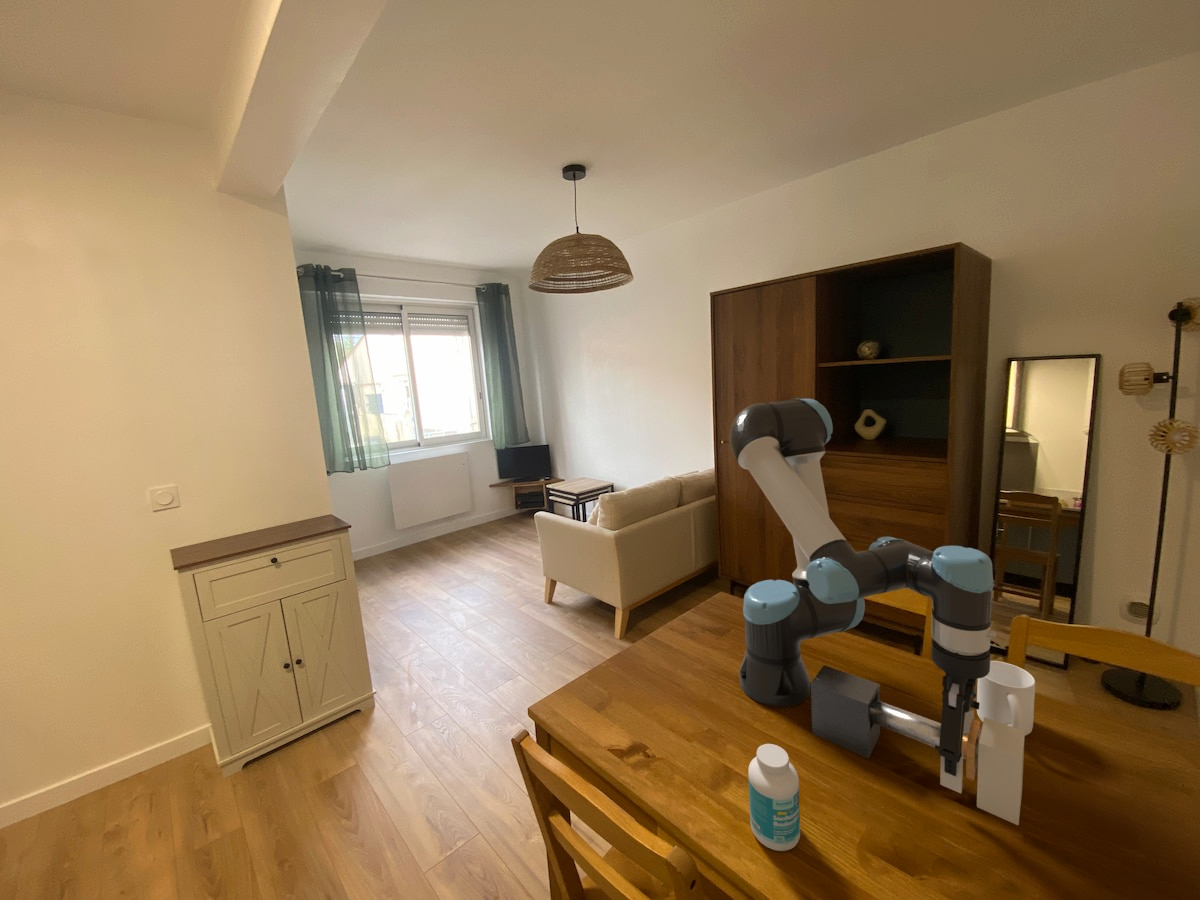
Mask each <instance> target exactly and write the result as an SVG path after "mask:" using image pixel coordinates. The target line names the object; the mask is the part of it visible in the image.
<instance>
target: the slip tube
mask: <svg viewBox="0 0 1200 900" xmlns="http://www.w3.org/2000/svg"><path fill="white" fill-rule="evenodd" d="M870 722H872V723H875V724H877V725H879V727H883V728H885V729H887V730H890V731H892V732H895V733H898V734H900V735H903V736H905V737H908V738H910V739H913V740H915V741H918V742H920V743H922V744H924V745H928V746H930V747H933V748H935V745H937V746H939V743H940V731H941V722H938V721H935V720H932V719H929V718H928V717H924V716H922V715H919V714H917V713H913V712H910V711H908V710H905V709H902V708H901V707H897V706H894V705H891V704H888V703H886V702H883V701H881V700H879V701H878V700H875V699H874V700H873V701H872V703H871V705H870ZM980 735H981V720H977V719H975V718H974V719H972V723H971V727H970V731H969V733H966V732H963V740H962V750H961V753H962V754H963V760H965V762H966V763H965V766H966V767H965V771H966V772H965V778H967V779H969V780H972V781H975V776H976V772H977V769H978V749H979V739H980Z"/></svg>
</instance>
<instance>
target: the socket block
mask: <svg viewBox="0 0 1200 900" xmlns="http://www.w3.org/2000/svg"><path fill="white" fill-rule="evenodd" d="M1025 737H1026V735H1025V731H1023V730H1020V729H1017V728H1015V727H1012V726H1009V725H1006V724H1003V723H1000V722H997V721H994V720H991V719H988V718H985V717H984V721H983V722H982V726H981V729H980V739H979V749H978V764H977V785H976V788H977V791H976V792H977V794H976V808H978V809H980V810H982V811H985V812H987V813H989V814H991V815H994V816H995V817H998V818H1001V819H1002V820H1004V821H1007V822H1009V823H1011V824H1014V825H1016V826H1019V825H1020V814H1021V805H1022V804H1021V803H1022V795H1023V793H1022V792H1023V778H1024V777H1023V776H1024V752H1025Z"/></svg>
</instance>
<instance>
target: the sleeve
mask: <svg viewBox="0 0 1200 900" xmlns="http://www.w3.org/2000/svg"><path fill="white" fill-rule="evenodd" d="M810 694H811V695H810V698H811V729H812V731H811V732H812V735H815V736H817V737H819V738H821V739H824V740H825V741H828V742H830V743H833V744H834V745H837V746H839V747H842V748H844V749H846V750H848V751H851V752H853V753H855V754H857V755H860V756H861V757H864V758H866V759H870V757H871V754H872V752H873V750H874V748H875V746H876V745H877V742H878V740H879V738H880V725H877V724H875V723H872V722H870V705H871V703H872V701H873V700H874V699H875V700H878V701H880V683H877V682H874V681H872V680H870V679H865V678H863V677H860V676H857V675H853V674H851V673H848V672H845V671H842V670H840V669H836V668H834V667H830V666H828V665H823V666H821V668H820V670H819V671H818V673H816V675H815V677H814V678H813V679H812V681H810Z"/></svg>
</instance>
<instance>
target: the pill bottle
mask: <svg viewBox="0 0 1200 900" xmlns="http://www.w3.org/2000/svg"><path fill="white" fill-rule="evenodd" d="M747 770H748V771H747V772H748V793H749V797H748V798H749V800H748V801H749V821H750V827H751V831H752V833H753V835H754V837H755V838H756V839H757V840H758V841H759V842H760V843H761V844H762V845H763V846H765V847H766V848H769V849H771V850H773V851H776V852H777V851H778V852H787V851H789V850H791V849H793V848H795V847H796V846H797V844H798V843H799V840H800V838H801V811H800V809H801V808H800V807H801V806H800V779H799V773H798V771H797V770H796V768H795V767H794V765H793V764H792V763H791V762H790V757H789V755H788V753H787V751H786V750H785V749H784V748H782V747H781V746H779V745H777V744H773V743H765V744H762V745H760V746H758V748H757V749H756V756H755V757H754V758H753V759H752V760H751V761H750V762H749V766H748V769H747Z"/></svg>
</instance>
